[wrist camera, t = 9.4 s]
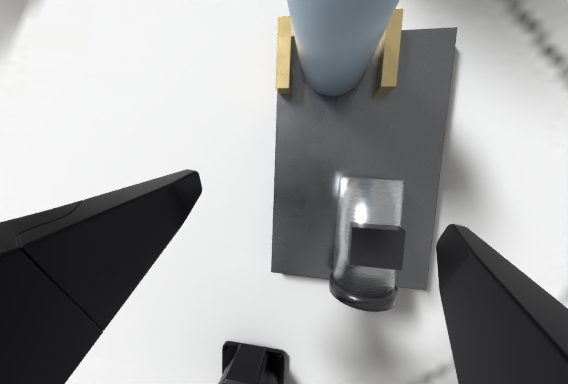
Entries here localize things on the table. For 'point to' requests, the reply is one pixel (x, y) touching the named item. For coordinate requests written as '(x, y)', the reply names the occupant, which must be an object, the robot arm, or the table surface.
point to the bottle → (338, 40)
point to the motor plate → (362, 167)
